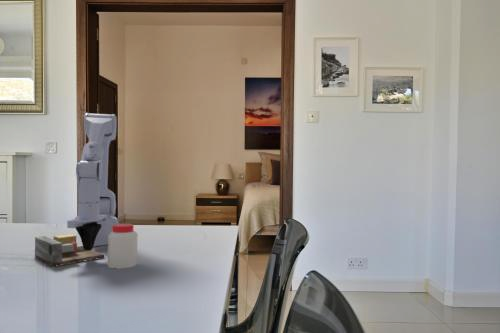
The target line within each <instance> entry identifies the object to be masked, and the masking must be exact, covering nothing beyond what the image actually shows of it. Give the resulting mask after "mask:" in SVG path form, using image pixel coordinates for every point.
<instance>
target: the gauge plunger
mask: <svg viewBox="0 0 500 333" xmlns="http://www.w3.org/2000/svg"><path fill="white" fill-rule="evenodd" d="M77 245H78V242H77V241H76V242H71V243H70V244H62V252H69V251H74V252H77Z"/></svg>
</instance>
